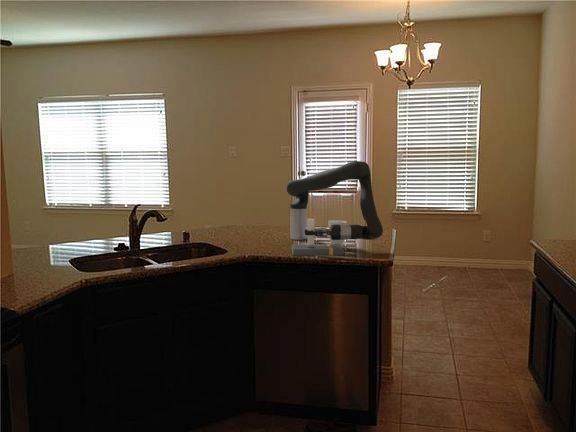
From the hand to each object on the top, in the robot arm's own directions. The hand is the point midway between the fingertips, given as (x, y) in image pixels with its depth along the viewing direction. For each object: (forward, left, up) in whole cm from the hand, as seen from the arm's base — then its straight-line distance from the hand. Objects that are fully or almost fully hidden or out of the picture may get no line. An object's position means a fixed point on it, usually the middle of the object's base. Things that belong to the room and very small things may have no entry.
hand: (305, 232), depth 227 cm
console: (-3, +5, -10) cm, 12 cm away
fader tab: (-1, +2, -7) cm, 7 cm away
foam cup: (-22, +8, -10) cm, 25 cm away
